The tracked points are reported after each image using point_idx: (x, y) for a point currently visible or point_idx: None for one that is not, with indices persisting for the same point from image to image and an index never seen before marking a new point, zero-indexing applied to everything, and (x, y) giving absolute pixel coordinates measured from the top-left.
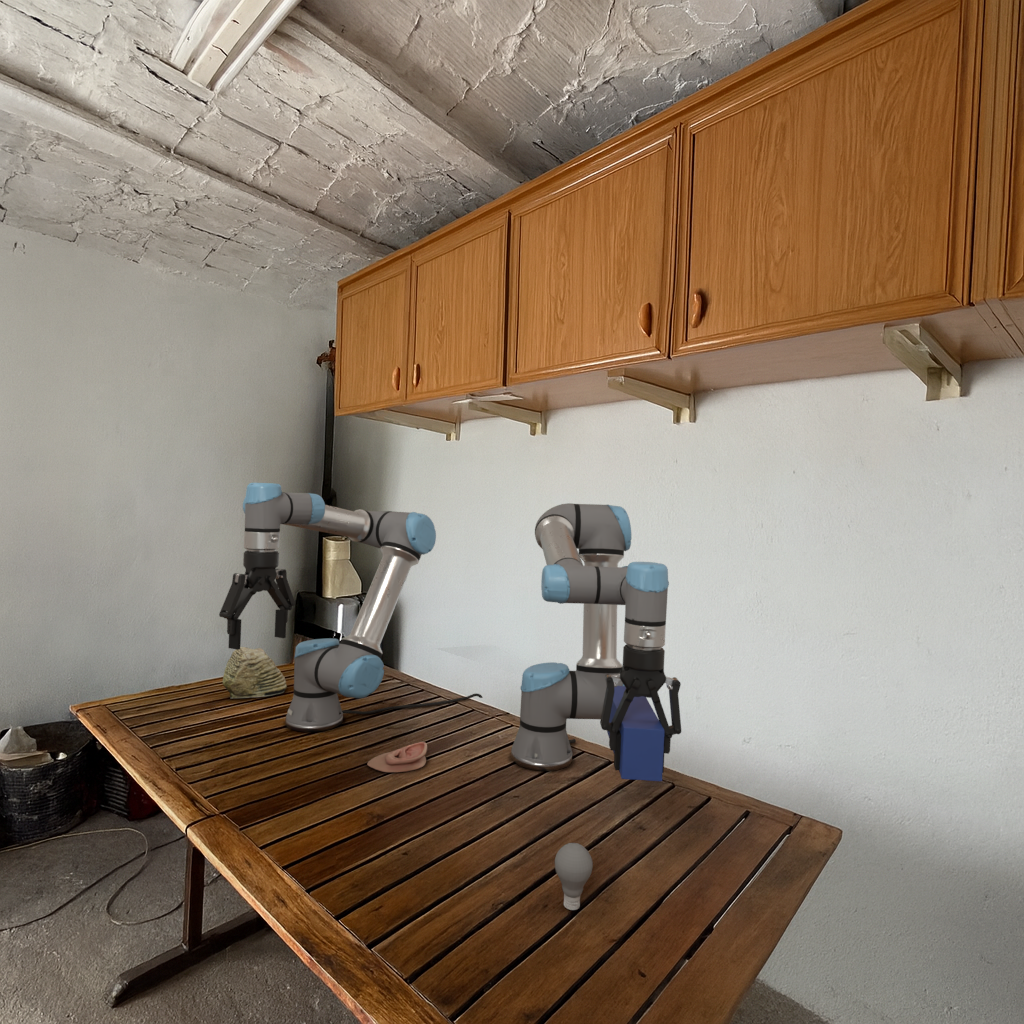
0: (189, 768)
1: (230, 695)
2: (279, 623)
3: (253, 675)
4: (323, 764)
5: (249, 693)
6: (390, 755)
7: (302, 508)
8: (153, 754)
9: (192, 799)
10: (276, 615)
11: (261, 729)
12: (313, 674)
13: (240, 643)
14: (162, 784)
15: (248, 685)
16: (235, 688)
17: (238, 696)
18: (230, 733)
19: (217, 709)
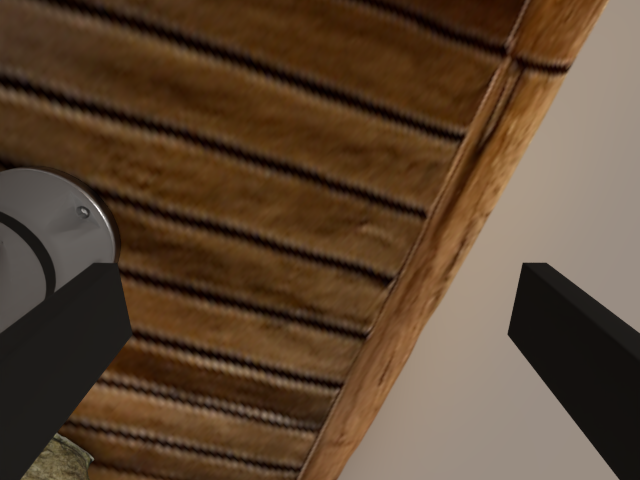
0: (376, 266)
1: (88, 465)
2: (59, 370)
3: (25, 477)
4: (214, 29)
5: (59, 443)
6: None
7: None
8: (360, 362)
9: (477, 154)
10: (17, 467)
11: (161, 299)
12: None
13: (544, 280)
14: (448, 252)
15: (50, 460)
16: (78, 469)
17: (80, 452)
18: (215, 331)
19: (147, 436)
